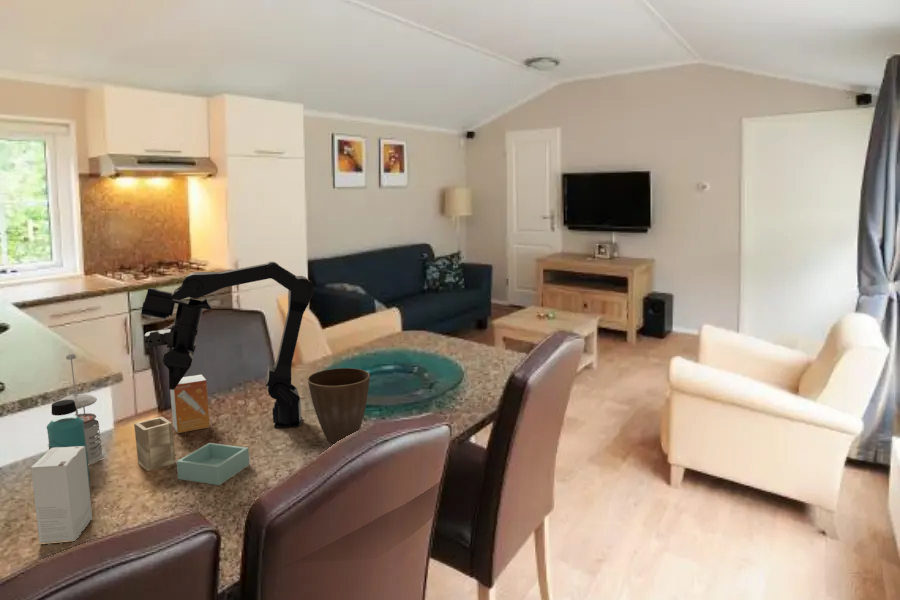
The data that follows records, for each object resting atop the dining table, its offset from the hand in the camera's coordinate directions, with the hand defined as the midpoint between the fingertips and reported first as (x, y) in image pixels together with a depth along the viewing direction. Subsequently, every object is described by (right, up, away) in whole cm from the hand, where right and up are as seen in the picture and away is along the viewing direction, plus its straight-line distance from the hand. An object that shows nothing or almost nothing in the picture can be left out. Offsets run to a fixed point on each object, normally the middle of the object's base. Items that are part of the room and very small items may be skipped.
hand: (173, 384), depth 151 cm
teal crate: (+17, -17, -17) cm, 29 cm away
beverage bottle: (-7, -19, -28) cm, 35 cm away
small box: (+1, -13, +9) cm, 16 cm away
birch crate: (+2, -16, -13) cm, 21 cm away
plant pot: (+41, -14, 0) cm, 44 cm away
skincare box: (0, -21, -41) cm, 46 cm away
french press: (-17, -16, -9) cm, 25 cm away
